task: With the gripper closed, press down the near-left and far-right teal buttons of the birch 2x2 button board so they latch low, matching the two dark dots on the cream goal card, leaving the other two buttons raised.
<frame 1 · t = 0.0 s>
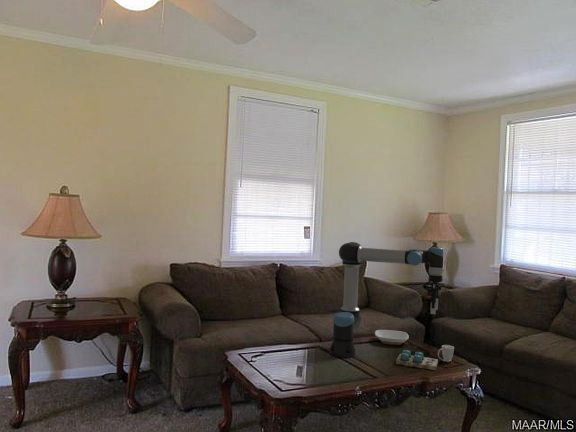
hand: (434, 311, 269), 28 cm above the table, fingers open, 13 cm apart
board: (417, 363, 263), on the table
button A: (404, 356, 262), point 4 cm above the table, slide at 0.0 cm
button C: (417, 358, 260), point 4 cm above the table, slide at 0.0 cm
cup: (445, 361, 270), on the table
button B: (406, 353, 269), point 4 cm above the table, slide at 0.0 cm
bowl: (391, 342, 305), on the table
button D: (419, 355, 266), point 4 cm above the table, slide at 0.0 cm
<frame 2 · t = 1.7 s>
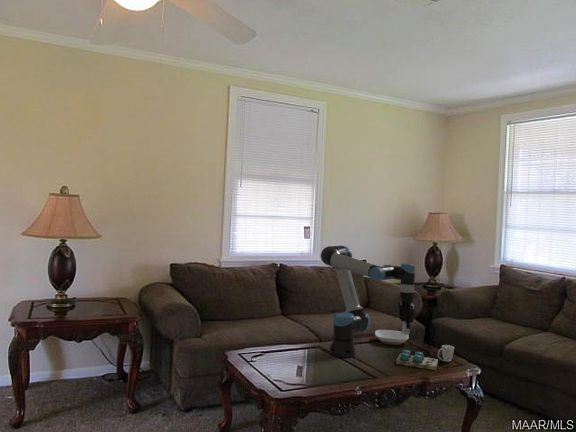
hand: (405, 333, 262), 16 cm above the table, fingers closed
nothing on the table moved.
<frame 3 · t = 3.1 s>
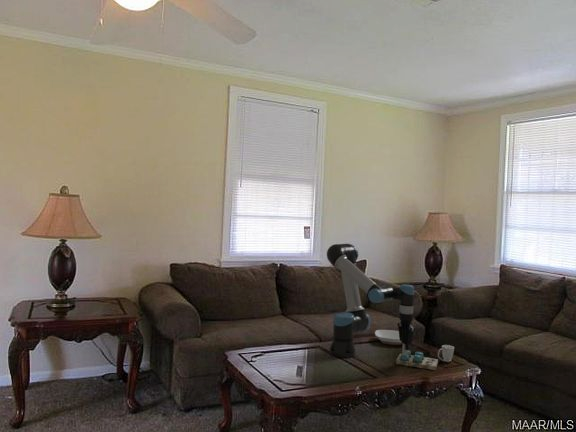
hand: (405, 355, 262), 5 cm above the table, fingers closed
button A: (404, 358, 262), point 3 cm above the table, slide at 0.7 cm, touching gripper
everything else where it was.
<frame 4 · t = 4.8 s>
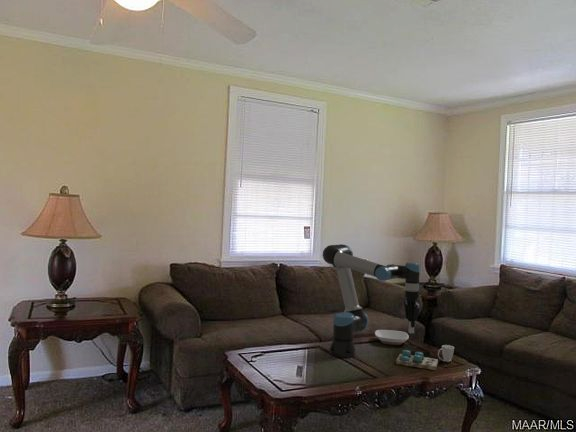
hand: (411, 332, 263), 17 cm above the table, fingers closed
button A: (404, 359, 262), point 2 cm above the table, slide at 1.6 cm
everything else where it was.
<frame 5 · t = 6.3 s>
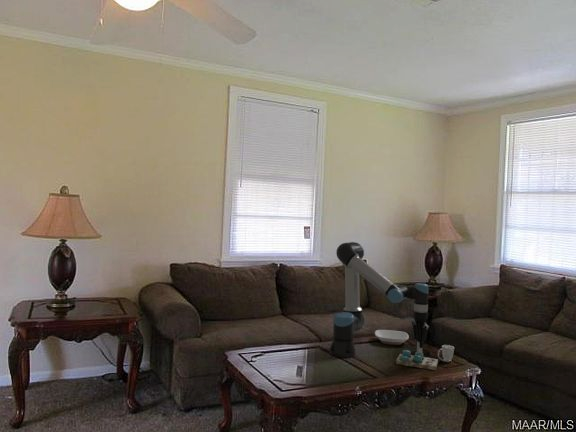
hand: (419, 353, 266), 5 cm above the table, fingers closed
button D: (419, 356, 266), point 3 cm above the table, slide at 0.2 cm, touching gripper
everything else where it was.
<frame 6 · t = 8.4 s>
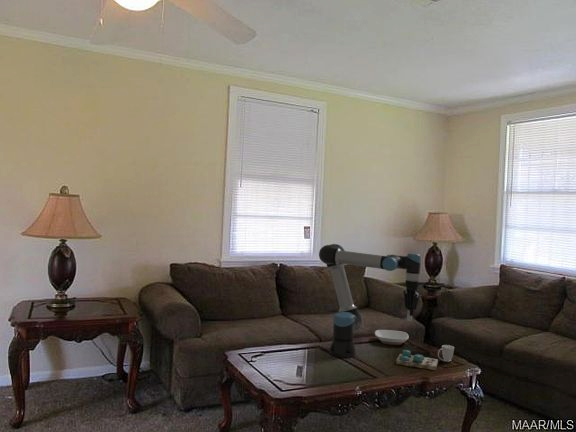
hand: (409, 320, 272), 21 cm above the table, fingers closed
button D: (418, 358, 266), point 2 cm above the table, slide at 1.5 cm
everything else where it was.
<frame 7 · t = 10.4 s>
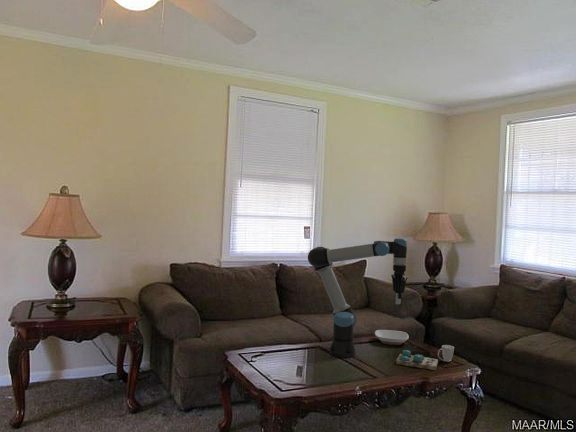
hand: (398, 303, 281), 29 cm above the table, fingers closed
nothing on the table moved.
at the end: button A slide at 1.6 cm; button D slide at 1.5 cm; button B slide at 0.0 cm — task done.
